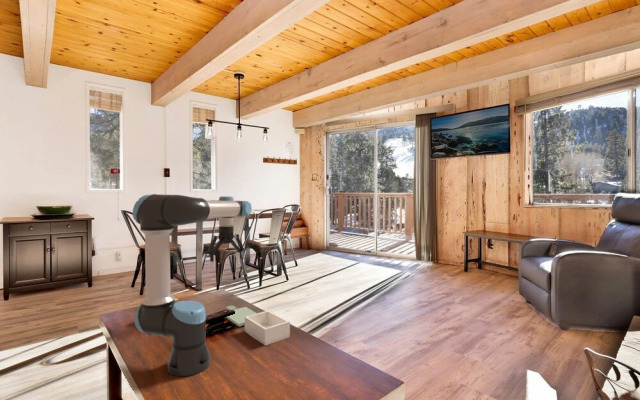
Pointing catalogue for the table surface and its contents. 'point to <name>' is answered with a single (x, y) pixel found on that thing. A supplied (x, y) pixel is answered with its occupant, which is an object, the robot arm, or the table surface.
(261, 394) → the table surface
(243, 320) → the lid
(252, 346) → the table surface
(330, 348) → the table surface
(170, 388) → the table surface
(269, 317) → the tub
